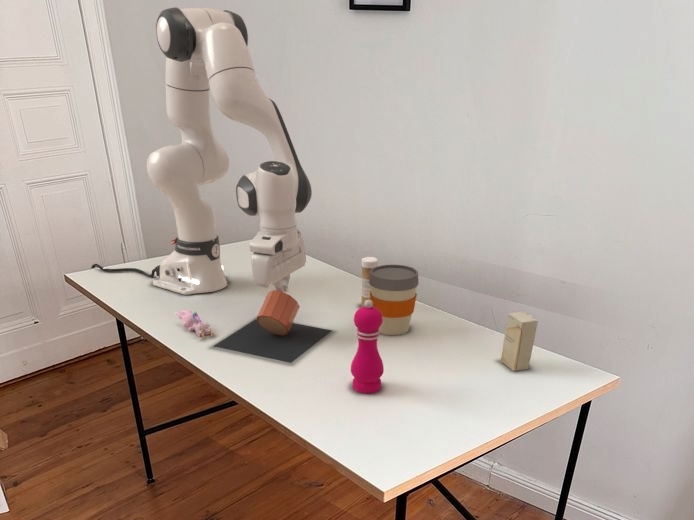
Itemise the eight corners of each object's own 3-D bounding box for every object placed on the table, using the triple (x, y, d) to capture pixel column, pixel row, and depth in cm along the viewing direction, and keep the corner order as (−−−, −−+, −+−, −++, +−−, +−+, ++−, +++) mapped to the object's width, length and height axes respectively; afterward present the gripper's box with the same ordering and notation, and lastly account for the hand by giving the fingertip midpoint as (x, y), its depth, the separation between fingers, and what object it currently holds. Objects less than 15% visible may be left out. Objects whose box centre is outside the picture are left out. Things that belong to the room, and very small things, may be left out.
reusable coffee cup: (372, 339, 174) (373, 281, 166) (364, 320, 184) (365, 265, 176) (420, 336, 176) (424, 279, 167) (410, 318, 186) (413, 263, 178)
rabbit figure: (219, 340, 176) (190, 314, 184) (218, 319, 172) (189, 294, 180) (197, 346, 172) (168, 320, 180) (196, 325, 168) (167, 299, 176)
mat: (213, 347, 169) (212, 346, 168) (259, 317, 185) (259, 316, 185) (290, 364, 161) (290, 362, 161) (332, 331, 178) (332, 330, 178)
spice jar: (369, 302, 196) (370, 255, 188) (380, 307, 193) (381, 259, 185) (357, 306, 193) (358, 258, 186) (367, 310, 191) (368, 262, 183)
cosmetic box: (500, 361, 164) (506, 312, 157) (515, 358, 165) (523, 310, 159) (514, 372, 159) (521, 322, 152) (530, 369, 161) (538, 319, 154)
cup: (263, 332, 176) (251, 313, 168) (274, 308, 178) (263, 288, 170) (292, 338, 173) (281, 318, 165) (303, 313, 175) (292, 293, 167)
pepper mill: (385, 382, 154) (389, 295, 143) (379, 396, 148) (382, 307, 137) (354, 378, 155) (355, 292, 144) (347, 392, 150) (347, 304, 138)
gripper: (289, 225, 172) (291, 279, 180) (245, 246, 157) (249, 304, 164) (311, 228, 170) (312, 283, 178) (268, 249, 155) (272, 308, 162)
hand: (282, 293), depth 171 cm, fingers closed
